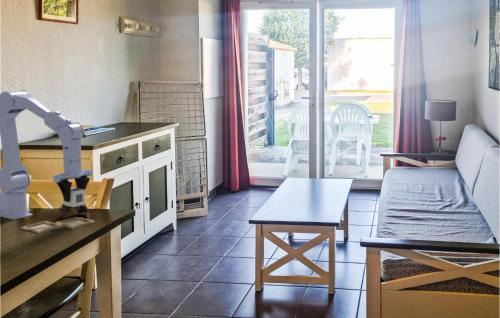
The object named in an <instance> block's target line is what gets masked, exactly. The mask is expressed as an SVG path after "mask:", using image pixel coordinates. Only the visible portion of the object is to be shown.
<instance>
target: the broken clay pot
mask: <svg viewBox="0 0 500 318" xmlns="http://www.w3.org/2000/svg"><path fill="white" fill-rule="evenodd" d="M72 210H74V211H75V210H76V211H77V213H78V214H84V215H85V219H89V218H91V214H90V211H89V208H88V207H87V205H86V203H85V204H84V205H80V206H76V207H71V206H66V205H63V203H61V206H59V207H58V211H59V216H60V217H61V218H65V216H67V215H72Z"/></svg>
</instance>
